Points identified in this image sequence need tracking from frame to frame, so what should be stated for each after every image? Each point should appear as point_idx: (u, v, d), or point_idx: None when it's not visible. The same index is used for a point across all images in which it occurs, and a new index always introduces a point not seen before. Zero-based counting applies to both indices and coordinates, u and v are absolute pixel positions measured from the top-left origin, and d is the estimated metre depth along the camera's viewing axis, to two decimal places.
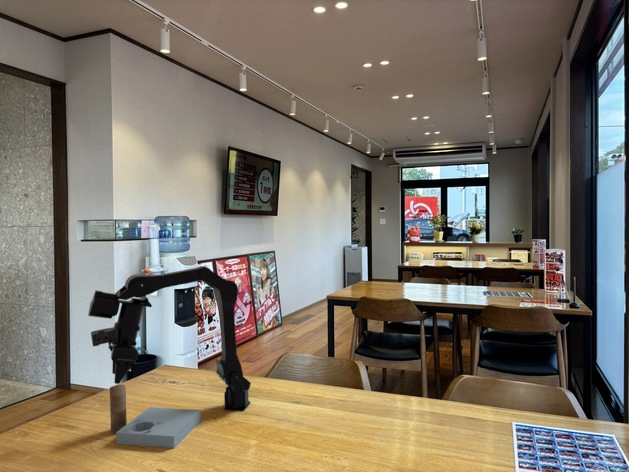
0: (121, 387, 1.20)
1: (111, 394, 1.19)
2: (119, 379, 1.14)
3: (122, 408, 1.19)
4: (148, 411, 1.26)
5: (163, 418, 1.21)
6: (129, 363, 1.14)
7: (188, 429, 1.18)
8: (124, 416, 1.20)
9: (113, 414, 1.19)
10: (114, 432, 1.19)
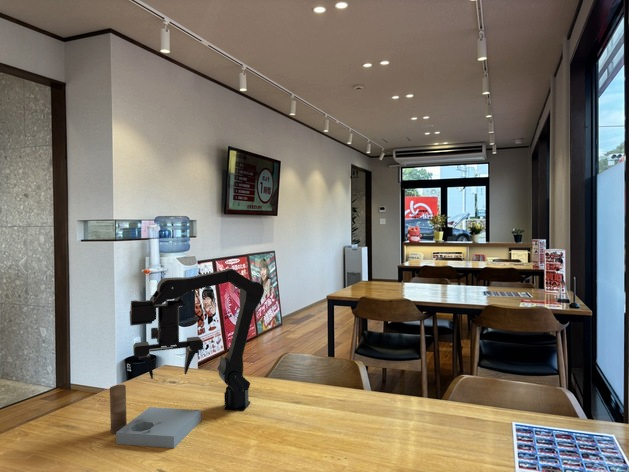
0: (121, 387, 1.20)
1: (111, 394, 1.19)
2: None
3: (122, 408, 1.19)
4: (148, 411, 1.26)
5: (163, 418, 1.21)
6: None
7: (188, 429, 1.18)
8: (124, 416, 1.20)
9: (113, 414, 1.19)
10: (114, 432, 1.19)
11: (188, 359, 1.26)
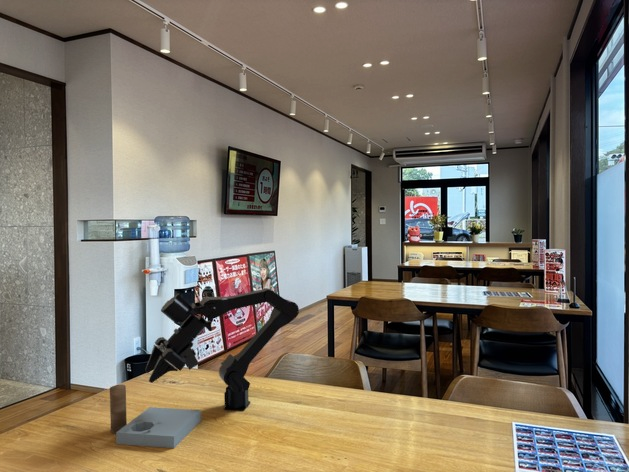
0: (121, 387, 1.20)
1: (111, 394, 1.19)
2: None
3: (122, 408, 1.19)
4: (148, 411, 1.26)
5: (163, 418, 1.21)
6: None
7: (188, 429, 1.18)
8: (124, 416, 1.20)
9: (113, 414, 1.19)
10: (114, 432, 1.19)
11: (156, 363, 1.20)
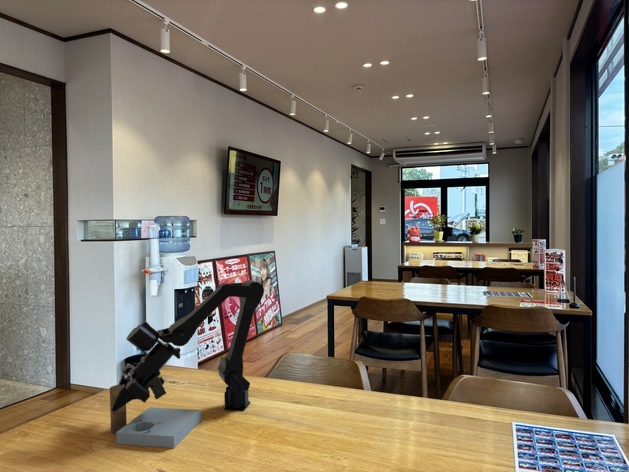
0: (121, 387, 1.20)
1: (111, 394, 1.19)
2: None
3: (121, 408, 1.19)
4: (148, 411, 1.26)
5: (163, 418, 1.21)
6: None
7: (188, 429, 1.18)
8: (124, 416, 1.20)
9: (113, 414, 1.19)
10: (114, 432, 1.19)
11: None
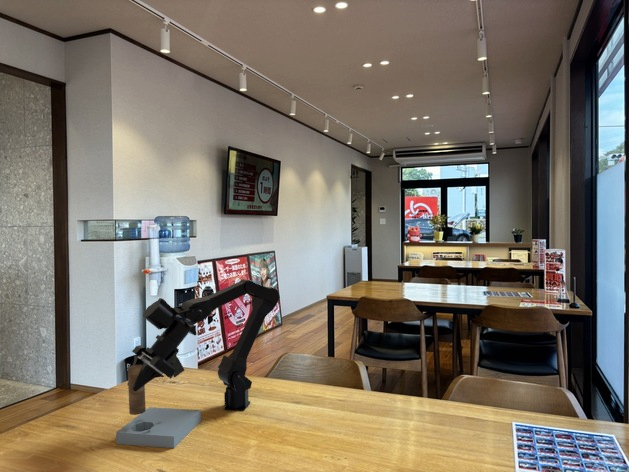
0: (140, 366, 1.17)
1: (130, 374, 1.15)
2: None
3: (142, 387, 1.16)
4: (148, 411, 1.26)
5: (163, 418, 1.21)
6: None
7: (188, 429, 1.18)
8: (144, 396, 1.17)
9: (133, 395, 1.15)
10: (134, 413, 1.15)
11: None
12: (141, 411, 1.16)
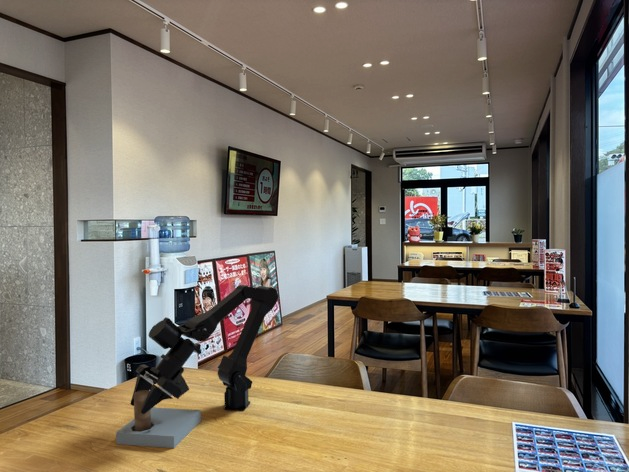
0: (146, 392, 1.16)
1: (137, 400, 1.14)
2: None
3: (148, 413, 1.15)
4: None
5: (163, 418, 1.21)
6: None
7: (188, 429, 1.18)
8: (150, 422, 1.16)
9: (139, 421, 1.14)
10: None
11: (149, 392, 1.13)
12: None
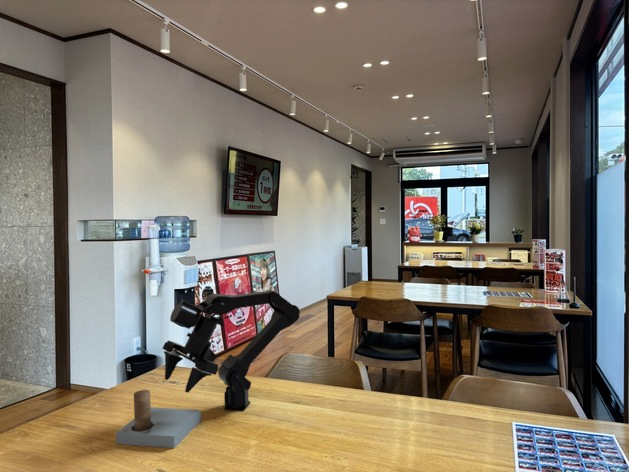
0: (146, 392, 1.16)
1: (137, 400, 1.14)
2: None
3: (148, 413, 1.15)
4: None
5: (163, 418, 1.21)
6: None
7: (188, 429, 1.18)
8: (150, 422, 1.16)
9: (139, 421, 1.14)
10: None
11: (190, 375, 1.22)
12: None
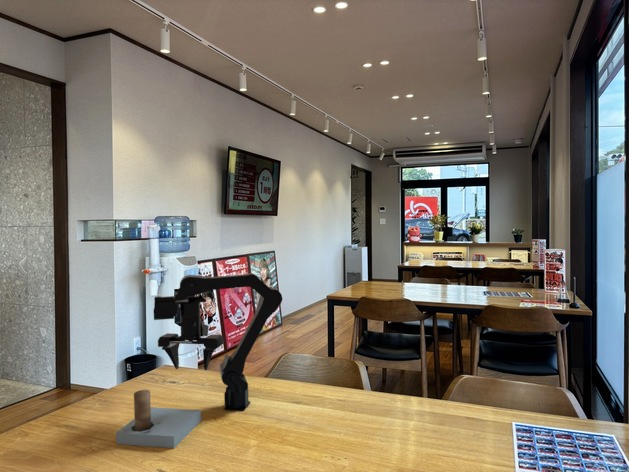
0: (146, 392, 1.16)
1: (137, 400, 1.14)
2: None
3: (148, 413, 1.15)
4: None
5: (163, 418, 1.21)
6: None
7: (188, 429, 1.18)
8: (150, 422, 1.16)
9: (139, 421, 1.14)
10: None
11: (204, 356, 1.28)
12: None
